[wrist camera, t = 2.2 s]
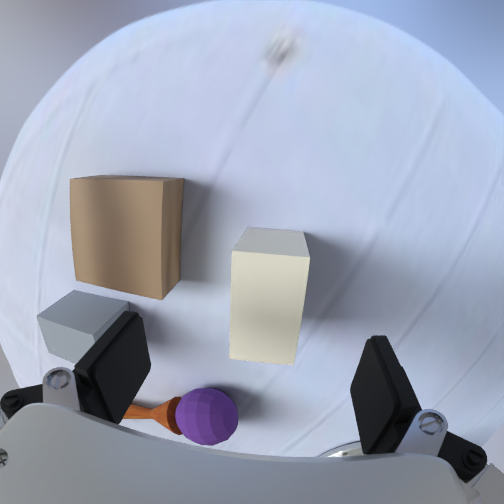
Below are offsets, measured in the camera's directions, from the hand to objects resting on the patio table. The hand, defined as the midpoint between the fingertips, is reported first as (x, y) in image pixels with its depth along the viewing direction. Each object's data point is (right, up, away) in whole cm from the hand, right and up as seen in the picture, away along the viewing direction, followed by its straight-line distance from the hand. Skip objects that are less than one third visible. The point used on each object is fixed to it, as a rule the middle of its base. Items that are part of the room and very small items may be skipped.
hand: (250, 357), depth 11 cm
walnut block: (-9, +6, +11) cm, 15 cm away
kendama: (-10, -13, +17) cm, 23 cm away
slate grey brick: (-15, -2, +14) cm, 20 cm away
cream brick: (+2, +2, +10) cm, 11 cm away
